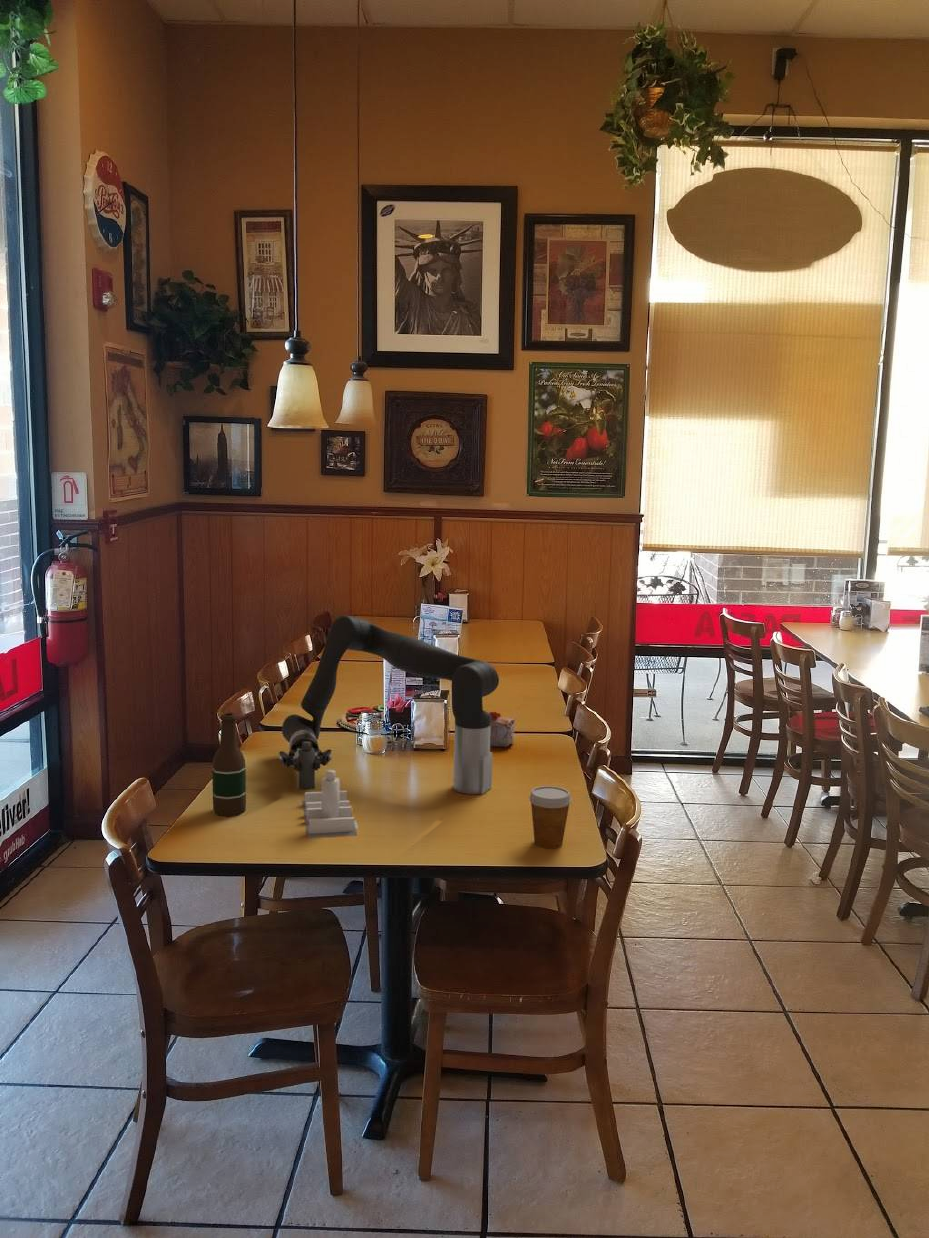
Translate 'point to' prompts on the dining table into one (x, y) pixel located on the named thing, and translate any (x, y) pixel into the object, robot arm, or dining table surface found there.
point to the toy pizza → (356, 716)
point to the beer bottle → (229, 772)
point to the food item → (501, 730)
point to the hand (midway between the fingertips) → (307, 766)
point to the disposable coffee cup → (549, 815)
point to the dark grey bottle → (306, 766)
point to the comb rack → (328, 825)
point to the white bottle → (330, 795)
